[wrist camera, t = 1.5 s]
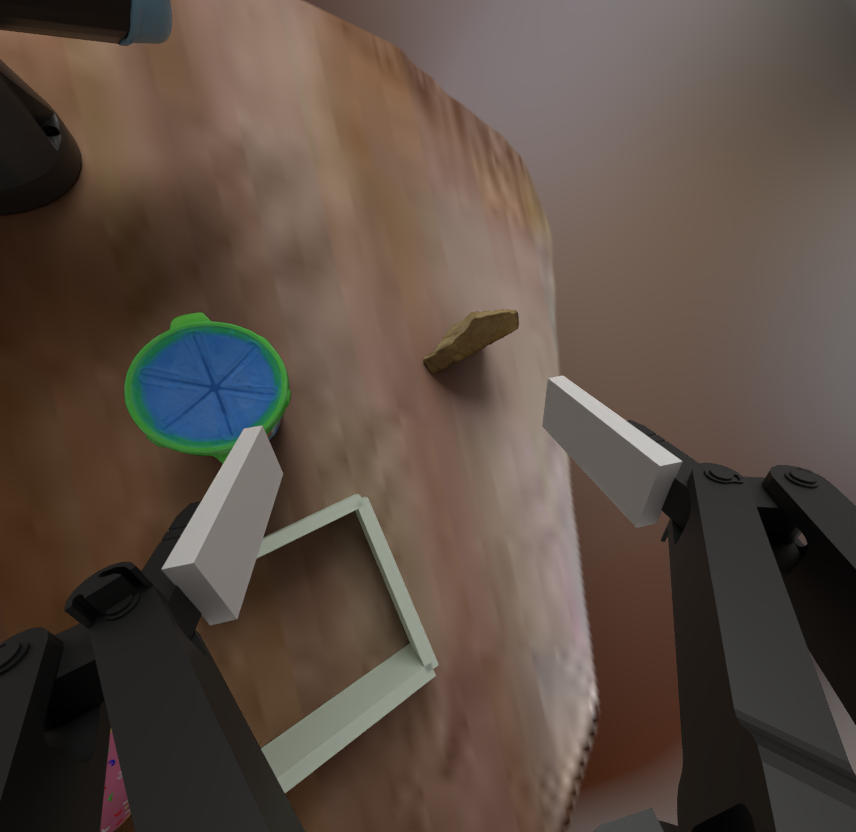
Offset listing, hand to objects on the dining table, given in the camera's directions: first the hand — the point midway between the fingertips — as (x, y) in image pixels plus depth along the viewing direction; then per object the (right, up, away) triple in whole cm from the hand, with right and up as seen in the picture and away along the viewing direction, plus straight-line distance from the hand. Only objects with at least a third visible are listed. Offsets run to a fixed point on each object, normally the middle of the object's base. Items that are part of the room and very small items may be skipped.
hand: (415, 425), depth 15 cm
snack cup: (-19, 0, +18) cm, 26 cm away
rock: (+4, +10, +29) cm, 30 cm away
